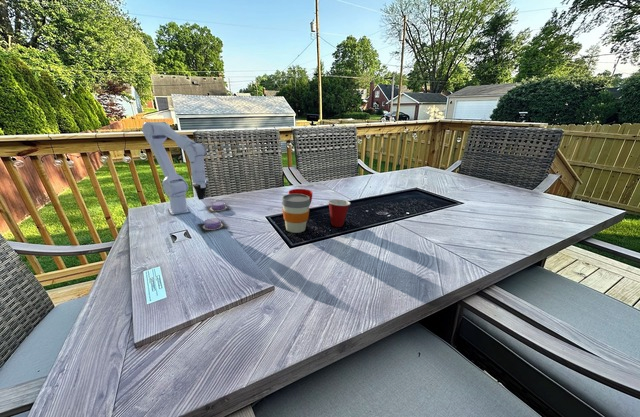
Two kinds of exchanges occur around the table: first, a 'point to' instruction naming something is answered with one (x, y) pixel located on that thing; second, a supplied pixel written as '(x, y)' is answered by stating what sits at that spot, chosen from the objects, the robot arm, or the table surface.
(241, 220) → the table surface
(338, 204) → the plastic cup
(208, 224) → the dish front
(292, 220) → the reusable coffee cup
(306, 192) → the ceramic cup
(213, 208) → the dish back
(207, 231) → the pad
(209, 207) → the pad
